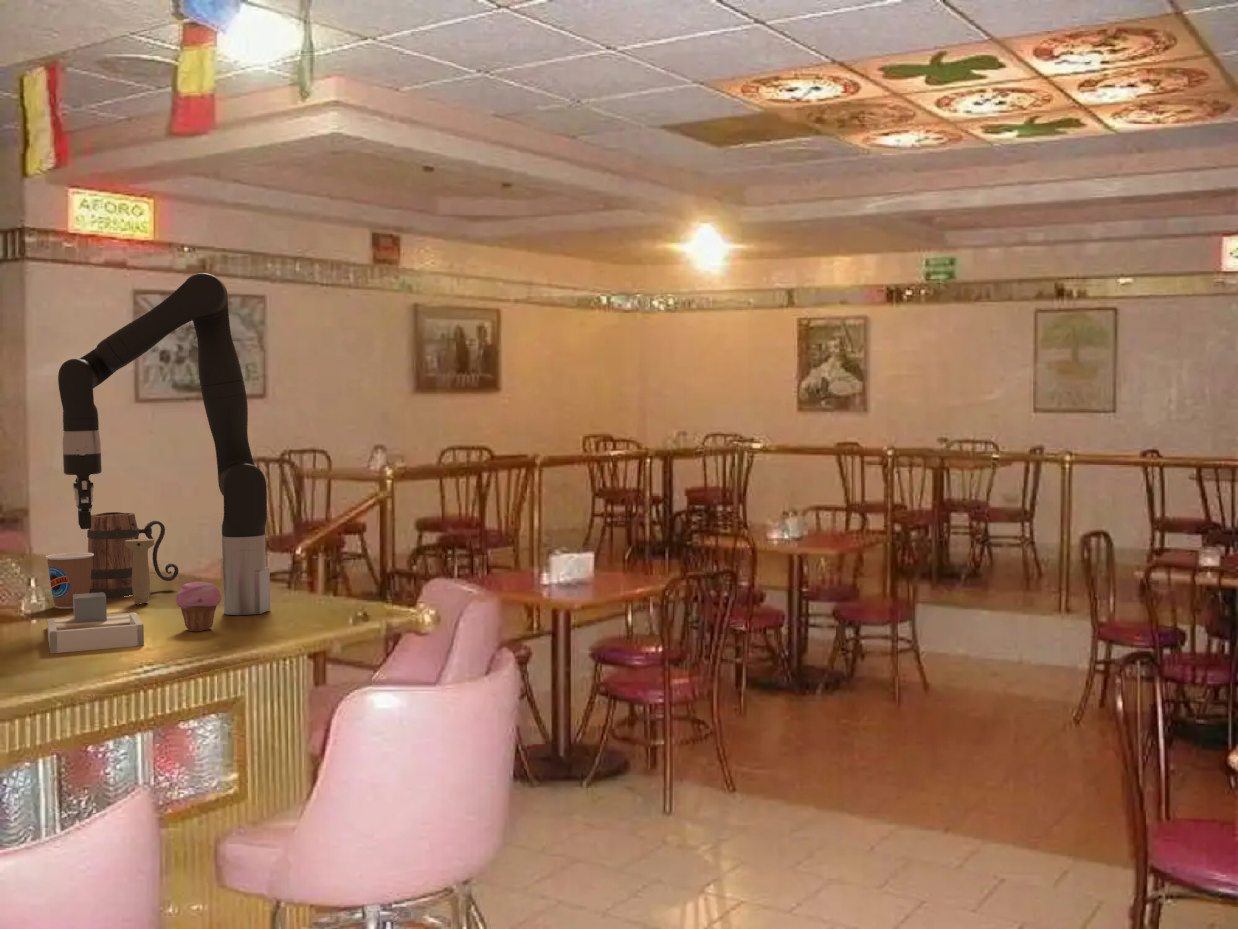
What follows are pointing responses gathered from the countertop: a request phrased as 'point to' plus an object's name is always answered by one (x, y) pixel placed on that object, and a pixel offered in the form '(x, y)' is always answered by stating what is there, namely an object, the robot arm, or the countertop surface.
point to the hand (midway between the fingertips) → (84, 527)
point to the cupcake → (198, 604)
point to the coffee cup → (69, 576)
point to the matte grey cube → (89, 607)
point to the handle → (140, 568)
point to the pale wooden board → (112, 620)
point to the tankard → (118, 553)
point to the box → (96, 637)
